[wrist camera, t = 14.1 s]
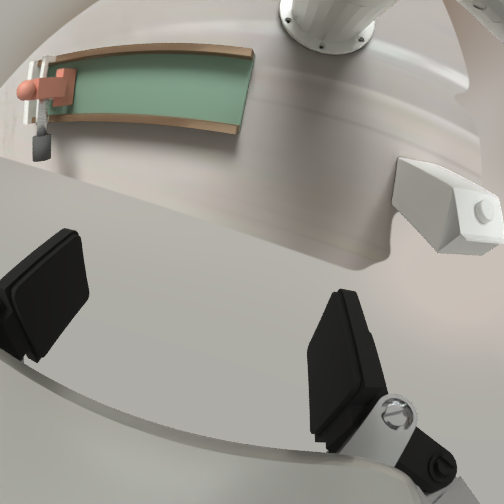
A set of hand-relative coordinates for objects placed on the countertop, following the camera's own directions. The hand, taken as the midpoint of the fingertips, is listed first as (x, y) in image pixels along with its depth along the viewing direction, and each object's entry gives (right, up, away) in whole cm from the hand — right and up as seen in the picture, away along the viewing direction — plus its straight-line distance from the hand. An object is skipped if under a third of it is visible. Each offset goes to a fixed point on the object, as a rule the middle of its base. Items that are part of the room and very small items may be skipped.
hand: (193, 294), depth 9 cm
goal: (-31, +28, +21) cm, 47 cm away
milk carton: (+26, +11, +26) cm, 38 cm away
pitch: (-16, +26, +22) cm, 38 cm away
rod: (-26, +24, +23) cm, 42 cm away
